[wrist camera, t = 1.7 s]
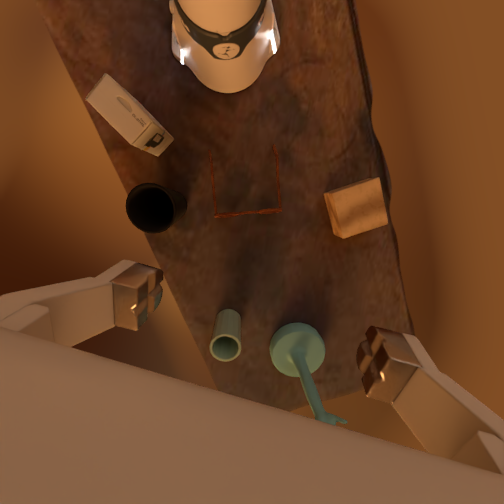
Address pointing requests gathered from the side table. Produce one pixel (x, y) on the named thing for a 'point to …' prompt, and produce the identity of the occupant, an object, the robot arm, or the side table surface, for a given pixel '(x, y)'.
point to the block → (356, 207)
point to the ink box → (128, 116)
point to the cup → (154, 207)
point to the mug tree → (302, 362)
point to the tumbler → (226, 336)
